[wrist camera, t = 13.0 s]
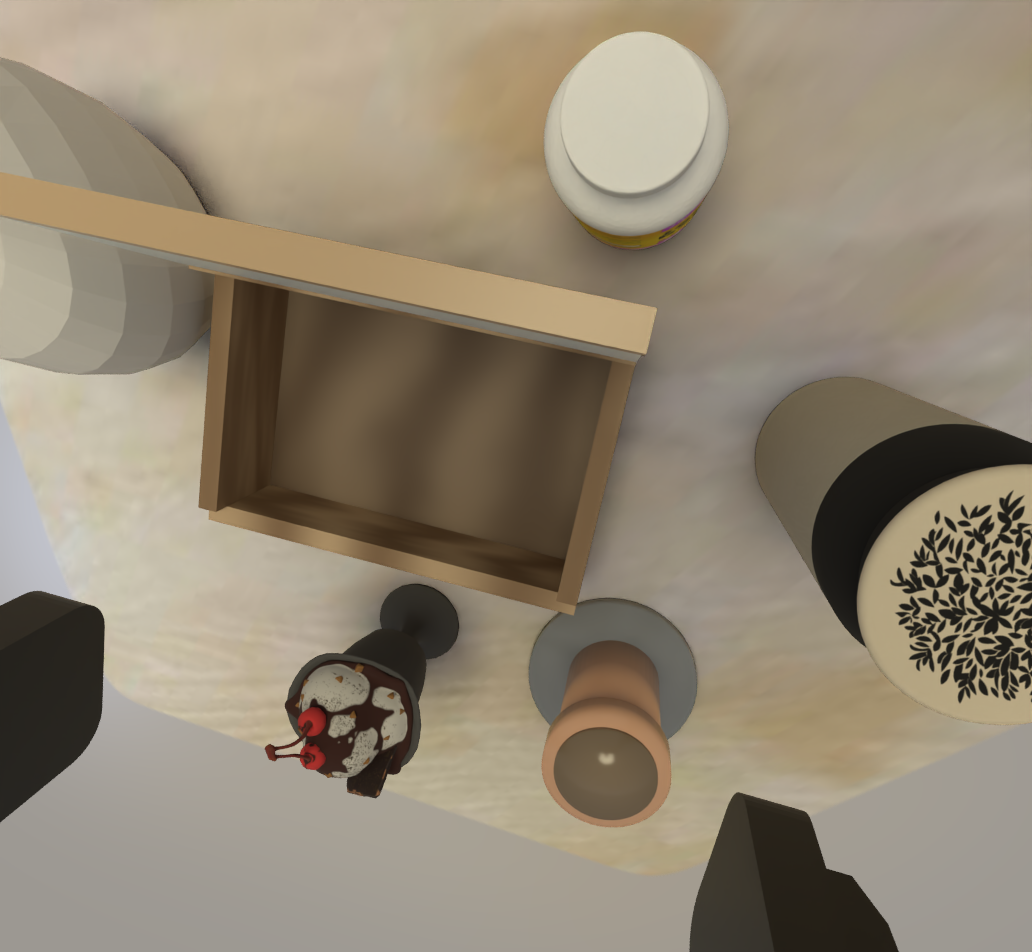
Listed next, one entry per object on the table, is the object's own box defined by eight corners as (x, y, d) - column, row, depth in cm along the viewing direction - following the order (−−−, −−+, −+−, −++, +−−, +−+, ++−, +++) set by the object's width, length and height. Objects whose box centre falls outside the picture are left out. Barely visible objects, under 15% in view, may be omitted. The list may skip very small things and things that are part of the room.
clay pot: (678, 649, 39) (686, 740, 31) (651, 739, 41) (653, 846, 33) (573, 621, 40) (555, 703, 32) (551, 711, 41) (529, 809, 34)
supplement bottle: (662, 274, 35) (671, 265, 23) (545, 213, 35) (492, 171, 23) (734, 142, 33) (786, 54, 21) (610, 78, 33) (589, -46, 21)
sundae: (372, 558, 42) (231, 696, 28) (480, 585, 41) (392, 742, 27) (360, 655, 44) (221, 830, 29) (463, 682, 43) (372, 877, 29)
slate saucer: (715, 623, 39) (717, 629, 38) (671, 764, 42) (672, 773, 41) (548, 579, 40) (547, 585, 39) (516, 720, 43) (514, 728, 42)
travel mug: (765, 538, 37) (866, 746, 20) (744, 392, 36) (835, 485, 19) (927, 516, 36) (1189, 724, 18) (913, 361, 34) (1187, 432, 17)
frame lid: (635, 365, 28) (641, 343, 28) (646, 353, 14) (657, 307, 14) (176, 265, 30) (179, 244, 30) (-211, 169, 16) (-209, 128, 16)
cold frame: (642, 331, 36) (641, 341, 28) (582, 576, 40) (567, 644, 32) (280, 254, 38) (189, 245, 31) (257, 493, 42) (172, 538, 35)
